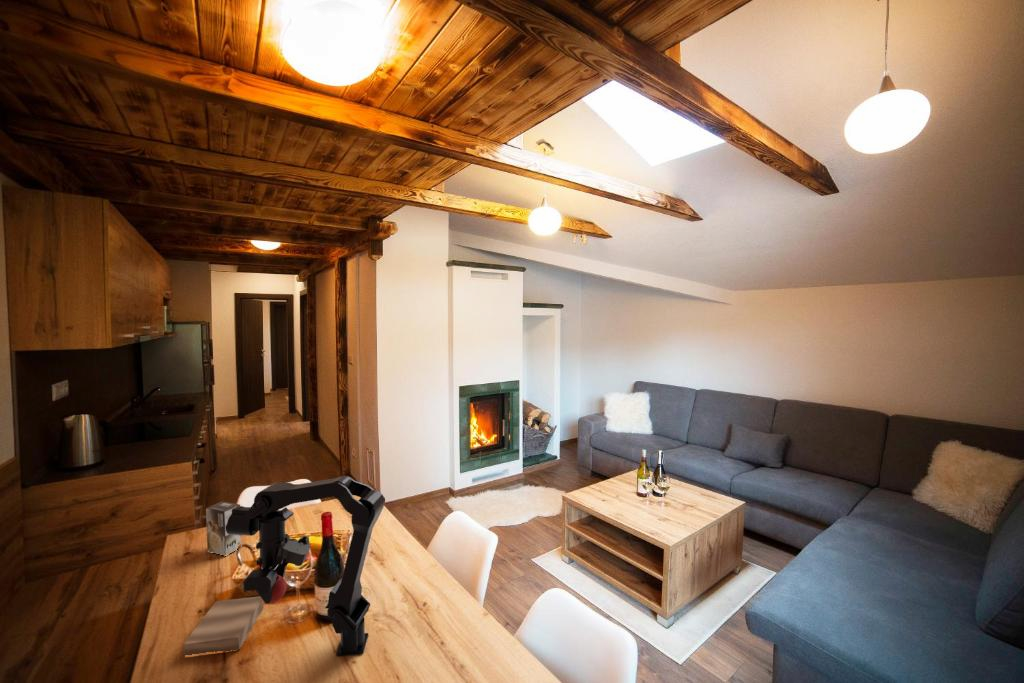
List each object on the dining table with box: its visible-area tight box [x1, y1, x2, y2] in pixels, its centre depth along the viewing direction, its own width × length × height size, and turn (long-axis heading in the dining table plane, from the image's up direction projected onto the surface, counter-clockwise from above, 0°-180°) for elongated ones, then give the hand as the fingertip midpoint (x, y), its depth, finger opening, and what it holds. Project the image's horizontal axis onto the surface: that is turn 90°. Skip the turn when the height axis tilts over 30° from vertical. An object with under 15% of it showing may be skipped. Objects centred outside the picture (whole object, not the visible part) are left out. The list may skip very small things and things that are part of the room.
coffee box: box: [205, 500, 242, 555], centre depth 150 cm, size 9×6×16 cm
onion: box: [270, 575, 287, 605], centre depth 107 cm, size 6×6×8 cm
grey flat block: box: [183, 595, 264, 656], centre depth 111 cm, size 16×12×4 cm
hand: (273, 595), depth 107 cm, fingers closed on onion, 6 cm apart
